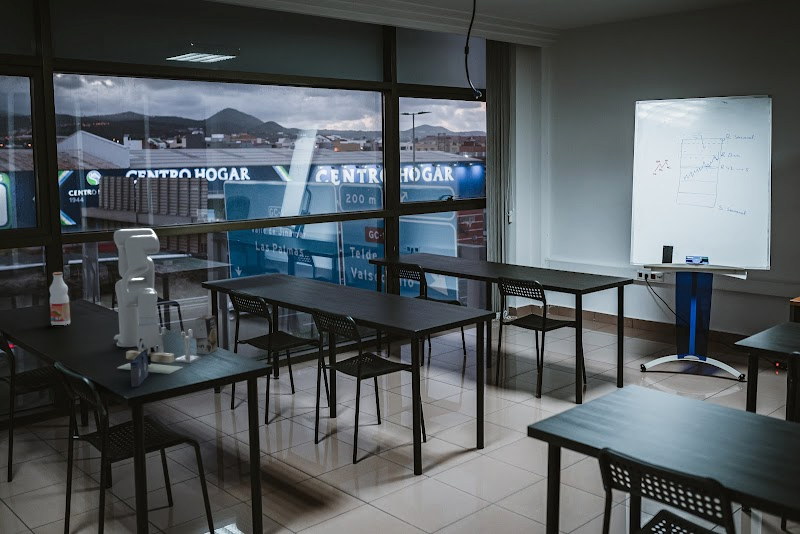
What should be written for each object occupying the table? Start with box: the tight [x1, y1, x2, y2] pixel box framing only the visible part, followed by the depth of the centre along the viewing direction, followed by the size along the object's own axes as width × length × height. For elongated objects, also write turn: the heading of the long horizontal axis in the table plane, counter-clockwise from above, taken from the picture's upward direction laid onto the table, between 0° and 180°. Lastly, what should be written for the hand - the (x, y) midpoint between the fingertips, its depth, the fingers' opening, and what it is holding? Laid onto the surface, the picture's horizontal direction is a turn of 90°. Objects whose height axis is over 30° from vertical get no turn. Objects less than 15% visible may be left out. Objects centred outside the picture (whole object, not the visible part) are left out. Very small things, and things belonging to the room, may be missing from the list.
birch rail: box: [125, 350, 175, 364], centre depth 337 cm, size 22×3×3 cm, turn 70°
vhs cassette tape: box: [129, 350, 150, 388], centre depth 318 cm, size 18×3×10 cm, turn 3°
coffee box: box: [195, 315, 218, 355], centre depth 365 cm, size 9×6×16 cm
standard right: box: [174, 329, 202, 364], centre depth 350 cm, size 8×8×13 cm
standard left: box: [157, 326, 172, 354], centre depth 355 cm, size 8×8×13 cm
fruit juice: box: [49, 271, 71, 326], centre depth 425 cm, size 9×9×28 cm
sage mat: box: [116, 362, 184, 375], centre depth 338 cm, size 26×10×1 cm, turn 70°
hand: (150, 363), depth 337 cm, fingers closed on birch rail, 3 cm apart
